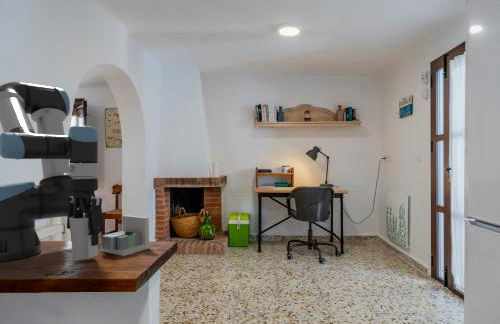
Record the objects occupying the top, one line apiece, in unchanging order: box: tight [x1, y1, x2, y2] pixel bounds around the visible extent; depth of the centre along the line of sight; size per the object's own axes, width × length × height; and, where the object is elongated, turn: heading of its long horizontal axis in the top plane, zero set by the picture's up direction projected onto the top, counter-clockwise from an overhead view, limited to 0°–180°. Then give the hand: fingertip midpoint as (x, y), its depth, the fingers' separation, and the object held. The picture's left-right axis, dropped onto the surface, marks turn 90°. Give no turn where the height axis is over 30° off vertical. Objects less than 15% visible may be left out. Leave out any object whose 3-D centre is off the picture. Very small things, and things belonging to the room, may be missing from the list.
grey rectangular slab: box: [101, 230, 134, 250], centre depth 101 cm, size 8×8×5 cm
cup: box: [69, 214, 96, 261], centre depth 92 cm, size 8×8×12 cm
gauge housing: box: [100, 214, 150, 257], centre depth 104 cm, size 12×10×10 cm
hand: (84, 254), depth 92 cm, fingers closed on cup, 7 cm apart
